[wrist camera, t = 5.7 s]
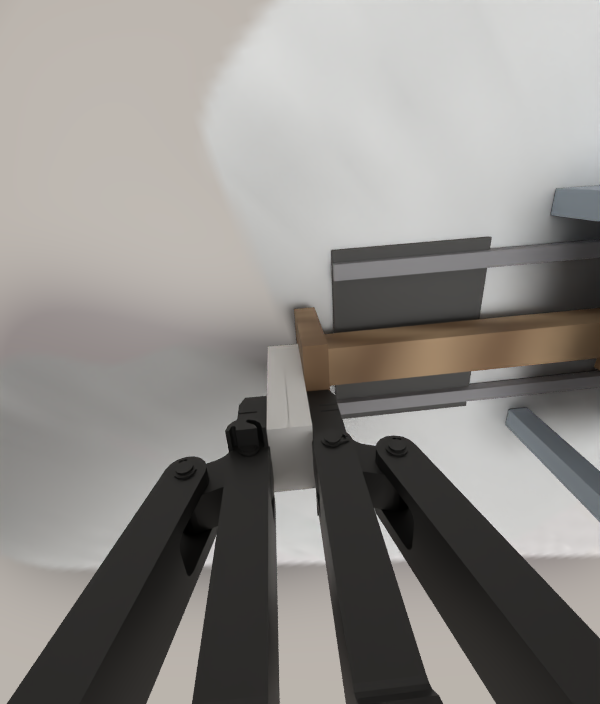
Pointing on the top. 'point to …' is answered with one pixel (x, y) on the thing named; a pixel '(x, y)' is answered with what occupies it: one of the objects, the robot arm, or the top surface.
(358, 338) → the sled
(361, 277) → the tunnel
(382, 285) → the dark grey flat plate
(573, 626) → the robot arm
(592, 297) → the top surface
